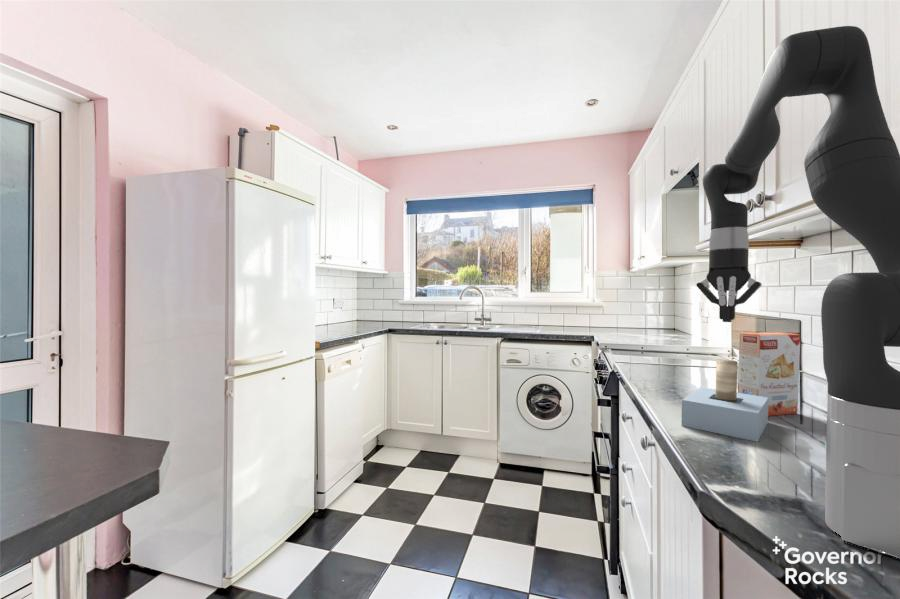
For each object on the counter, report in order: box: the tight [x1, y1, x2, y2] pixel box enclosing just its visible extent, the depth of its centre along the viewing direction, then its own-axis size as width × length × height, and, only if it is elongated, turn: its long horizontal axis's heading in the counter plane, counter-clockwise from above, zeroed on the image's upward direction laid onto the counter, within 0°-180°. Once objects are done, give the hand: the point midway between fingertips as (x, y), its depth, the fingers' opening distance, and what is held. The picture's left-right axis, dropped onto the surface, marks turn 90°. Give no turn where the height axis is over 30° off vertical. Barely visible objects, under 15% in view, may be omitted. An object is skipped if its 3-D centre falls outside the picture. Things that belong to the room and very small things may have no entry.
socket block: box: [681, 386, 769, 442], centre depth 92 cm, size 18×14×6 cm
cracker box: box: [737, 331, 801, 417], centre depth 101 cm, size 14×6×21 cm, turn 105°
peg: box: [715, 358, 738, 403], centre depth 92 cm, size 4×4×14 cm
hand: (727, 321), depth 92 cm, fingers closed
